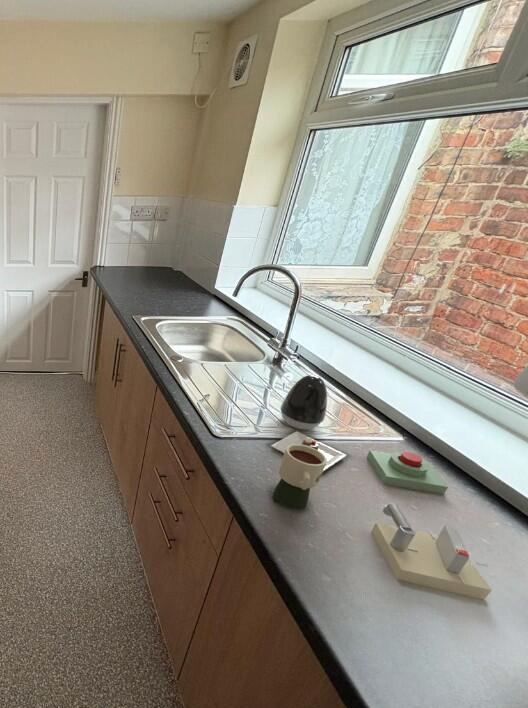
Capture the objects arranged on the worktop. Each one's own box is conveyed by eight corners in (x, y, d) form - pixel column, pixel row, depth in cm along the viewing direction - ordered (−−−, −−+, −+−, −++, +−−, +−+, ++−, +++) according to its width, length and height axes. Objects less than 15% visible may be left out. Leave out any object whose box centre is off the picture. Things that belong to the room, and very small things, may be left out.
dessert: (345, 458, 102) (352, 442, 100) (319, 476, 97) (326, 459, 95) (295, 434, 112) (300, 419, 110) (269, 449, 106) (274, 433, 104)
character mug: (312, 525, 84) (333, 475, 78) (272, 515, 87) (290, 466, 81) (303, 489, 93) (321, 443, 87) (267, 481, 96) (282, 435, 90)
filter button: (414, 459, 96) (418, 453, 96) (422, 469, 93) (425, 463, 92) (396, 456, 97) (399, 450, 97) (403, 465, 94) (406, 459, 94)
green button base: (421, 466, 99) (428, 452, 98) (443, 494, 91) (452, 480, 89) (366, 457, 103) (372, 444, 101) (383, 483, 94) (390, 470, 93)
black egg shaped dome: (272, 425, 116) (287, 377, 109) (282, 410, 122) (297, 364, 116) (315, 439, 109) (334, 390, 102) (323, 423, 116) (341, 375, 109)
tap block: (459, 553, 78) (468, 539, 76) (498, 608, 68) (509, 594, 67) (369, 534, 82) (375, 521, 80) (393, 583, 73) (402, 569, 71)
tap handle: (435, 540, 76) (445, 524, 74) (446, 544, 75) (457, 527, 73) (446, 570, 71) (457, 552, 69) (458, 574, 70) (470, 556, 68)
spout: (389, 520, 81) (398, 502, 78) (408, 553, 74) (419, 533, 72) (375, 517, 81) (384, 499, 79) (393, 549, 75) (403, 530, 72)
